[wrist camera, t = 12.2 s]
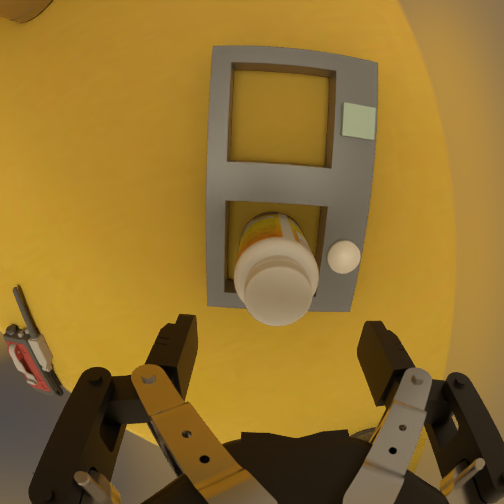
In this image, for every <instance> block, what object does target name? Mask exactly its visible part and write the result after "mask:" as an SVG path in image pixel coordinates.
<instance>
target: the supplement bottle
mask: <svg viewBox="0 0 504 504" xmlns="http://www.w3.org/2000/svg"><path fill="white" fill-rule="evenodd" d="M318 282H319V272H318V267H317V263H316V261H315V258H314V256H313V254H312V252H311V250H310V247H309V245H308V243H307V241H306V239H305V237H304V234H303V232H302V230H301V228H300V227H299V225H298V224H297V223H296V222H295V221H294V220H293V219H292V218H290V217H289V216H287V215H284V214H281V213H276V212H270V213H264V214H261V215H258V216H256V217H255V218H253V219H252V220H251V221H250V222H249V223H248V224H247V225H246V227H245V228H244V230H243V233H242V236H241V240H240V245H239V250H238V255H237V260H236V265H235V270H234V285H235V289H236V292H237V294H238V296H239V298H240V299H241V300H242V302H243V303H244V304H245V306H246V308H247V310H248V312H249V313H250V314H251V315H252V317H254V318H255V319H256V320H257V321H259V322H261V323H263V324H266V325H270V326H284V325H289V324H291V323H294V322H296V321H297V320H299V319H300V318H301V317H303V316H304V315H305V314H306V312H307V311H308V309H309V307H310V305H311V302H312V297H313V295H314V294H315V292H316V289H317V286H318Z"/></svg>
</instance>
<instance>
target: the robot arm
mask: <svg viewBox="0 0 504 504" xmlns="http://www.w3.org/2000/svg"><path fill="white" fill-rule="evenodd" d="M51 1H52V0H0V17H2V18H6V19H9V20H12V21H16V22H20V23H23V22H26V21H29V20H31V19H32V18H34V17H35V16H37V15H38V14H39V13H40V12H42V11H43V10H44V9H45V8H46V7H47V6H48V5H49V3H50V2H51ZM197 350H198V336H197V322H196V315H188V314H179V316H178V318H177V321H176V323H175V324H171V323H168V324H167V325H165V326H164V327H163V328H162V329H161V330H160V332H159V334H158V336H157V338H156V341H155V344H154V345H153V347H152V349H151V351H150V353H149V356H148V358H147V360H146V362H145V364H144V365H142V366H139V367H137V368H136V369H135V370H134V371H133V372H132V374H131V375H127V376H111V373H110V372H109V371H108V370H107V369H105V368H102V367H93V368H90V369H87V370H86V371H84V372H83V373H82V375H81V376H80V378H79V380H78V382H77V384H76V386H75V388H74V389H73V391H72V393H71V395H70V397H69V399H68V401H67V403H66V405H65V407H64V409H63V411H62V413H61V415H60V417H59V419H58V422H57V423H56V425H55V428H54V430H53V432H52V434H51V436H50V438H49V441H48V443H47V445H46V447H45V450H44V452H43V454H42V456H41V459H40V461H39V464H38V466H37V468H36V471H35V473H34V476H33V478H32V481H31V484H30V486H29V498H30V500H31V502H32V504H121V497H120V495H119V492H118V491H117V489H116V488H115V487H114V486H113V485H112V484H111V483H110V481H111V478H112V474H113V470H114V467H115V463H116V459H117V455H118V452H119V449H120V445H121V442H122V439H123V435H124V432H125V429H126V425H127V424H134V423H147V425H148V427H149V429H150V431H151V432H152V434H153V436H154V438H155V440H156V441H157V443H158V445H159V447H160V449H161V450H162V452H163V454H164V456H165V458H166V460H167V461H168V463H169V465H170V467H171V469H172V470H173V472H174V473H175V475H176V476H177V478H176V479H175V480H174V481H172V482H171V483H170V484H168V485H167V486H165V487H164V488H163V489H161V490H160V491H158V492H157V493H156V494H154V495H153V496H151V497H150V498H149V499H147V500H145V501H144V502H143V503H141V504H494V503H496V502H497V501H499V500H500V499H501V498H503V497H504V442H503V440H502V438H501V436H500V434H499V431H498V430H497V428H496V426H495V424H494V422H493V420H492V418H491V416H490V414H489V412H488V410H487V409H486V407H485V405H484V403H483V401H482V400H481V398H480V396H479V394H478V393H477V391H476V389H475V387H474V386H473V384H472V382H471V381H470V379H469V378H468V377H467V376H466V375H464V374H462V373H458V372H454V373H451V374H449V375H448V377H447V379H446V381H444V380H434V379H432V378H431V376H430V374H429V373H428V372H426V371H425V370H423V369H421V368H416V367H415V365H414V364H413V362H412V360H411V358H410V357H409V355H408V353H407V352H406V350H405V348H404V347H403V345H401V342H400V340H399V338H398V337H397V336H396V335H395V334H394V333H393V332H391V331H390V330H387V329H386V328H385V326H384V324H383V323H382V321H366V322H365V324H364V327H363V330H362V334H361V337H360V340H359V343H358V347H357V357H358V360H359V362H360V365H361V367H362V370H363V373H364V375H365V378H366V380H367V383H368V386H369V388H370V391H371V394H372V397H373V399H374V402H375V405H376V406H384V405H385V407H386V410H385V412H384V413H383V415H382V418H381V420H380V422H379V424H378V426H377V427H376V429H375V431H374V433H373V435H372V437H371V439H370V441H369V442H367V441H365V440H362V439H359V438H355V437H349V434H348V429H347V430H336V431H323V432H319V433H316V434H312V435H308V436H305V437H301V438H291V437H286V436H281V435H276V434H271V433H252V432H241V439H238V440H233V441H229V442H227V443H224V444H221V443H220V442H219V440H218V439H217V438H216V437H215V435H214V434H213V433H212V431H211V430H210V429H209V427H208V426H207V425H206V424H205V422H204V421H203V420H202V418H201V417H200V415H199V414H198V413H197V411H196V410H195V409H194V407H193V406H192V405H191V403H189V402H186V403H185V402H184V401H185V398H186V394H187V390H188V386H189V382H190V378H191V374H192V370H193V367H194V363H195V359H196V355H197ZM453 415H455V417H456V420H457V422H458V425H459V428H458V431H457V428H456V426H455V424H454V422H453V419H452V416H453ZM423 424H424V426H425V429H426V432H427V434H428V437H429V440H430V443H431V446H432V449H433V452H434V455H435V457H436V461H437V463H438V467H439V470H440V473H441V476H442V480H441V483H440V487H439V489H440V491H439V490H438V489H436V488H435V487H433V486H431V485H430V484H428V483H427V482H425V481H424V480H422V479H421V478H419V477H418V476H416V475H415V474H413V473H412V472H410V471H409V470H407V468H408V465H409V463H410V460H411V458H412V455H413V453H414V450H415V447H416V444H417V442H418V439H419V436H420V433H421V430H422V427H423Z"/></svg>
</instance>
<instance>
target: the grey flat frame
mask: <svg viewBox="0 0 504 504" xmlns="http://www.w3.org/2000/svg"><path fill="white" fill-rule="evenodd" d="M234 70H252V71H273V72H286V73H297V74H307V75H315V76H322V77H329V104H328V125H327V142H326V157H325V166H315V165H304V164H291V163H277V162H260V161H237V160H230V148H231V125H232V104H233V85H234ZM377 109H378V63H377V62H373V61H369V60H364V59H359V58H355V57H350V56H344V55H339V54H333V53H326V52H320V51H312V50H304V49H295V48H284V47H269V46H213V53H212V66H211V81H210V99H209V119H208V145H207V185H206V265H207V306H214V307H228V308H244V309H247V308H246V306H245V304H244V303H243V302H242V300H241V299H240V298H239V296H238V294H237V292H236V289H235V285H234V280H227V258H228V210H229V201H251V202H270V203H286V204H301V205H314V206H321V213H320V222H319V231H318V239H317V247H316V255H315V261H316V263H317V267H318V272H319V282H318V286H317V289H316V292H315V294H314V295H313V297H312V302H311V305H310V307H309V309H308V311H321V312H350V309H351V304H352V300H353V295H354V291H355V286H356V281H357V276H358V271H359V266H360V261H361V256H362V250H363V244H364V238H365V232H366V226H367V219H368V212H369V204H370V197H371V188H372V179H373V170H374V159H375V146H376V131H377Z"/></svg>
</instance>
